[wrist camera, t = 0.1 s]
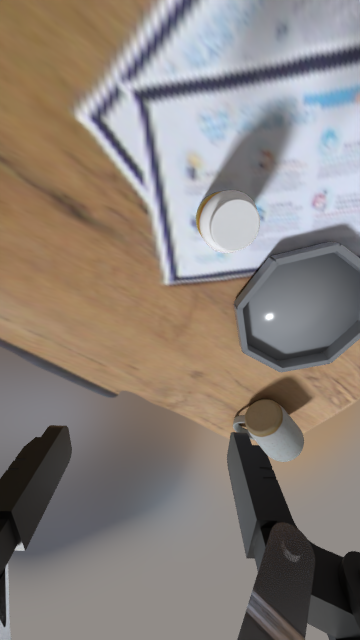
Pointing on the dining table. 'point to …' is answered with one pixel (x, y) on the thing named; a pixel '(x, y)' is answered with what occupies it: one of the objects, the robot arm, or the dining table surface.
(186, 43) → the dining table surface
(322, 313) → the dish
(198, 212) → the supplement bottle
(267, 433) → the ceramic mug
